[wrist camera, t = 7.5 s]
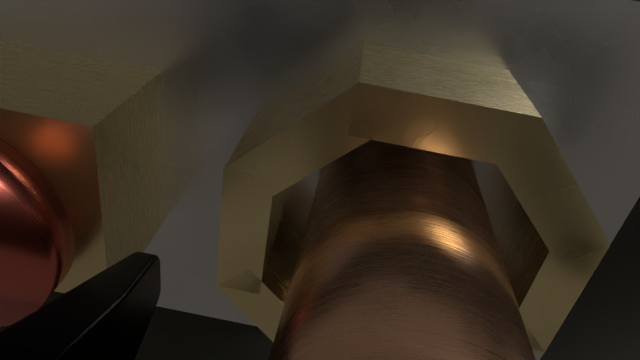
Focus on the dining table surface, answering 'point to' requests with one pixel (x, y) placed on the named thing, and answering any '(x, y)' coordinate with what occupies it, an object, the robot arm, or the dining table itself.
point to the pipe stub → (399, 266)
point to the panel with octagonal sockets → (304, 136)
